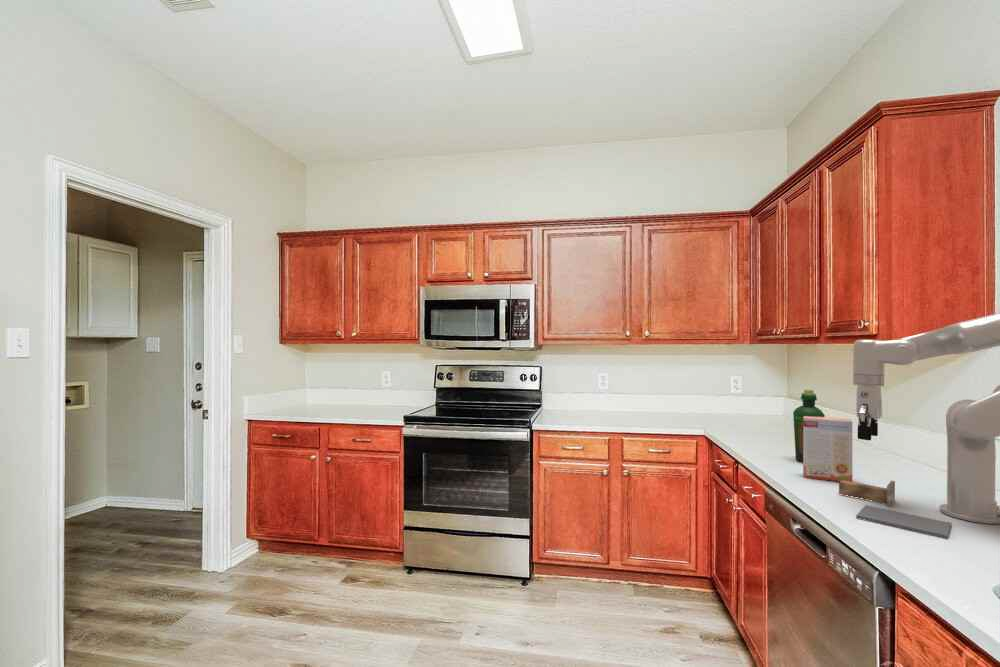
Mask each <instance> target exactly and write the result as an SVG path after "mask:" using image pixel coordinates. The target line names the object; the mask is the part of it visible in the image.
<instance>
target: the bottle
mask: <svg viewBox="0 0 1000 667" xmlns="http://www.w3.org/2000/svg"><path fill="white" fill-rule="evenodd" d="M814 391H815V390H813V389H804V390H803V392H802V393H801V396H800V400H802V401H801V402H802V405H800V406H798V407H796V408H795V409H794V410H793V413H792V414H793V415H792V416H793V430H794V431H793V432H794V433H793V434H794V451H795V452H794V453H795V460H796V461H797V462H799V463H802V464H803V418H804V416H813V417H825V414H824V412H823V411H822V409H820V408H819V407H817V406H816V401H817V400H818V398H817V394H816V393H814Z"/></svg>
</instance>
